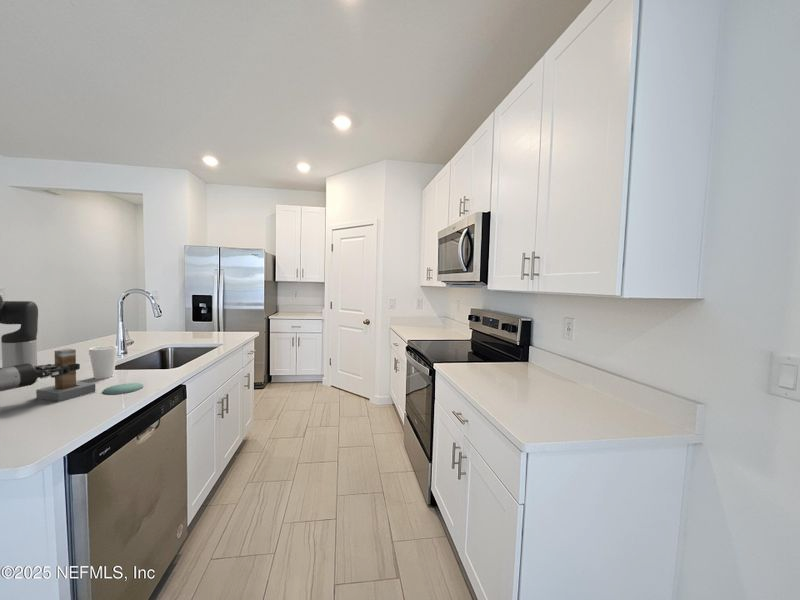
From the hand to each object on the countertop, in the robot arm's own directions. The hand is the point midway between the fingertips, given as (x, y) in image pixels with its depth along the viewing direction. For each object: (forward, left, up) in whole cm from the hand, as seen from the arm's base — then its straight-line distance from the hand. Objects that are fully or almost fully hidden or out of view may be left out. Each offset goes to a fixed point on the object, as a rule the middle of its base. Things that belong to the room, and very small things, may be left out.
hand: (74, 365), depth 123 cm
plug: (+2, -2, -9) cm, 10 cm away
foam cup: (-19, +8, -10) cm, 23 cm away
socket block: (+2, -2, -10) cm, 11 cm away
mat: (+6, +14, -10) cm, 18 cm away
